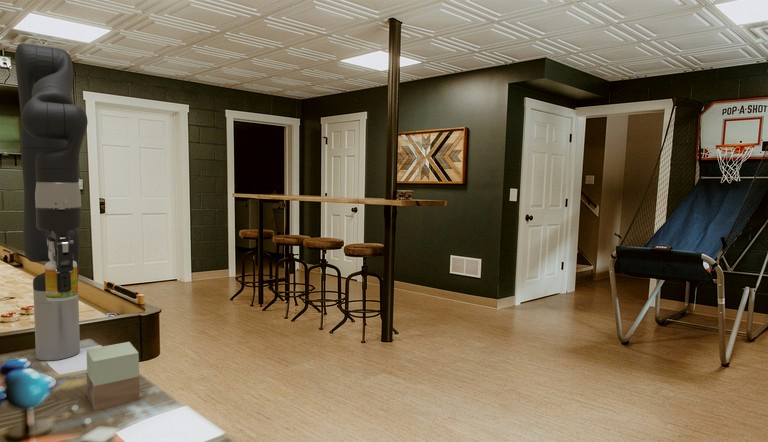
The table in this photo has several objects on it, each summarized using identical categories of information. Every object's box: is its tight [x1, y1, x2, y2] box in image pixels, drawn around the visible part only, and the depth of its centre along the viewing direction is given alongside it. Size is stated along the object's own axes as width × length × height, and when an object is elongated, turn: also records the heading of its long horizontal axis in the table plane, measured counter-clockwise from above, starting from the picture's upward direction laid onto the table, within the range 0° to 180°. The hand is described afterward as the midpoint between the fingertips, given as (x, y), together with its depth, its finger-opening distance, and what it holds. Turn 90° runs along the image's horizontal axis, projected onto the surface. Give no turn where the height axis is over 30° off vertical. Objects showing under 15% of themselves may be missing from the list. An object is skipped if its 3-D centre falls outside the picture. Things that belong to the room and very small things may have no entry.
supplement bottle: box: [44, 251, 79, 301], centre depth 97 cm, size 5×5×10 cm
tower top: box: [86, 341, 140, 386], centre depth 99 cm, size 8×8×5 cm
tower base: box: [85, 372, 140, 411], centre depth 99 cm, size 8×8×5 cm
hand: (61, 288), depth 97 cm, fingers closed on supplement bottle, 5 cm apart
